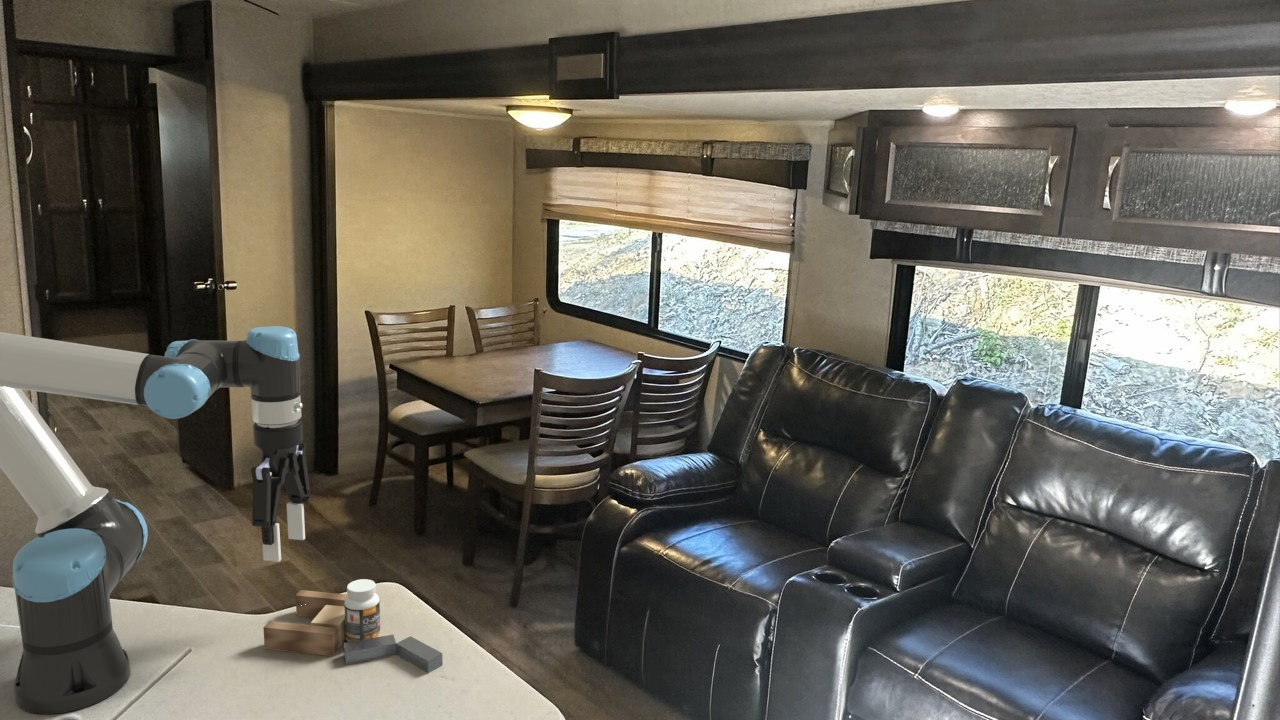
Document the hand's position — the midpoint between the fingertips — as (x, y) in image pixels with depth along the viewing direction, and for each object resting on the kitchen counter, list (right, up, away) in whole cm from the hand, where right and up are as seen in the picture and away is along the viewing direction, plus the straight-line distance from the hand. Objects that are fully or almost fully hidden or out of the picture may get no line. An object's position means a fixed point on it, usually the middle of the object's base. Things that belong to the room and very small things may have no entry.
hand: (284, 548), depth 154 cm
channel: (+4, -15, +3) cm, 16 cm away
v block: (+20, -17, -3) cm, 26 cm away
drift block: (+7, -16, +3) cm, 17 cm away
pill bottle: (+13, -16, +2) cm, 20 cm away
